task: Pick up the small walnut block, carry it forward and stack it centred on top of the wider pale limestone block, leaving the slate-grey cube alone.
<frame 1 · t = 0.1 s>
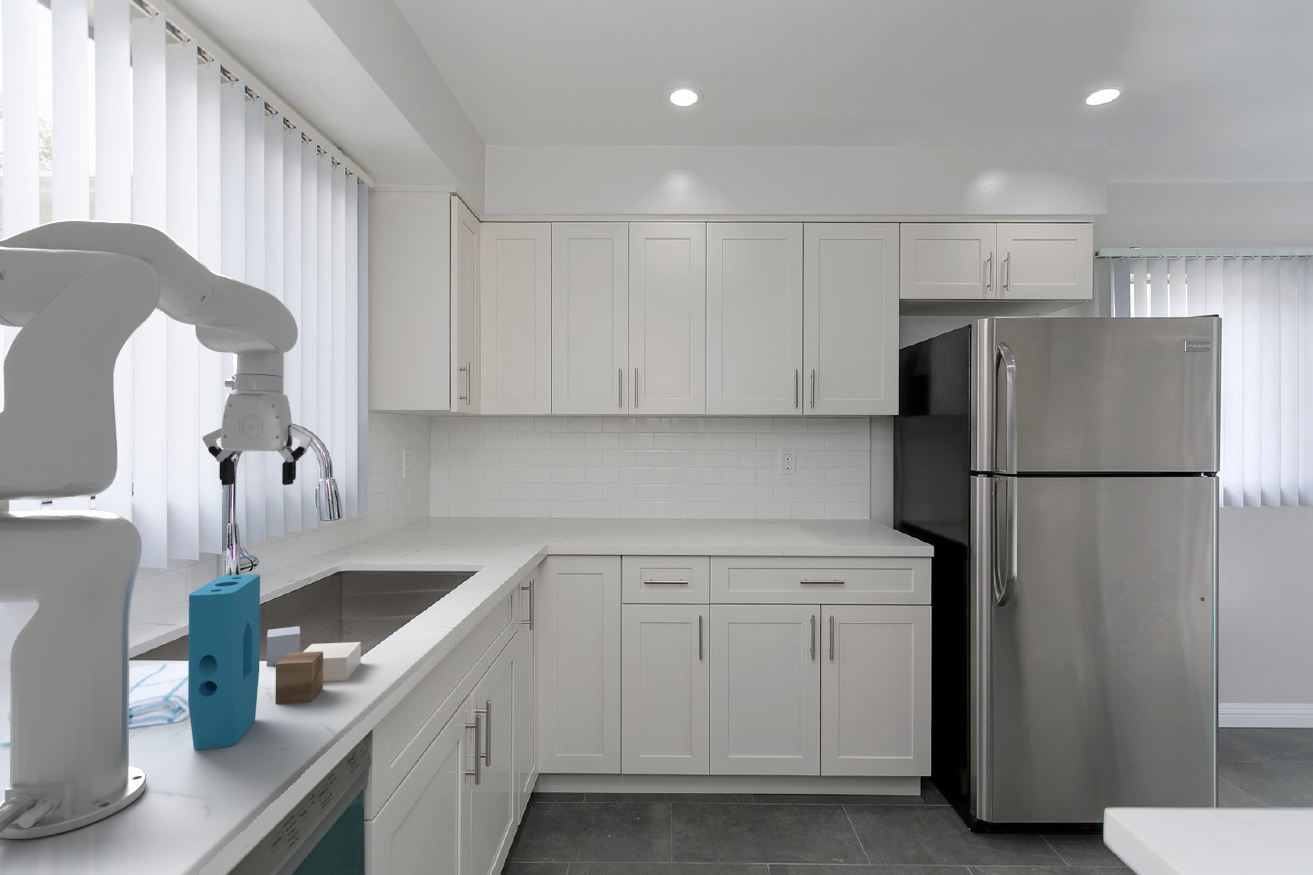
hand: (258, 484, 115), 31 cm above the worktop, fingers open, 9 cm apart
limestone block: (328, 674, 110), on the worktop
slate cube: (283, 659, 116), on the worktop
block: (225, 735, 87), on the worktop
walnut block: (299, 696, 100), on the worktop
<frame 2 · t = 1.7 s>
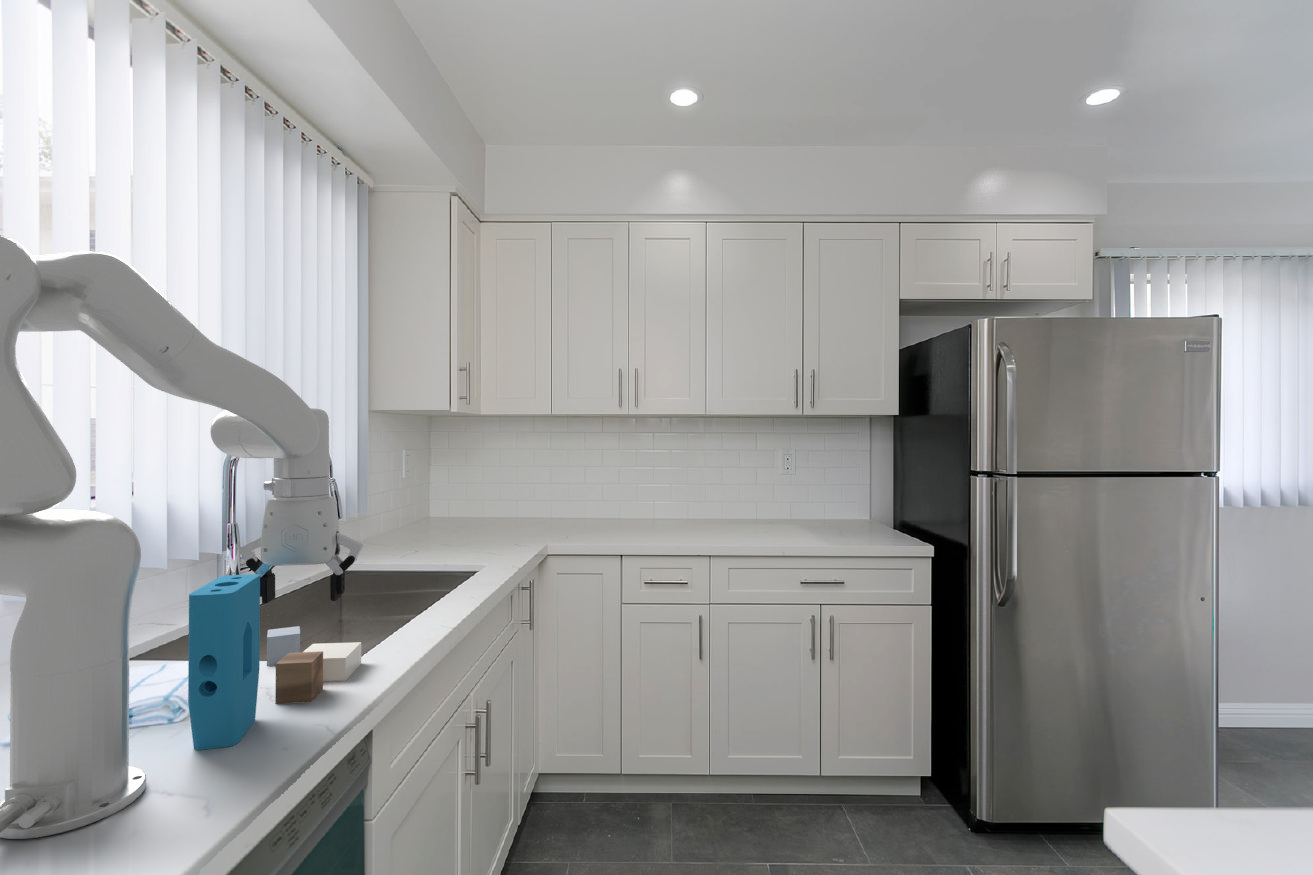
hand: (302, 600, 100), 15 cm above the worktop, fingers open, 9 cm apart
nothing on the worktop moved.
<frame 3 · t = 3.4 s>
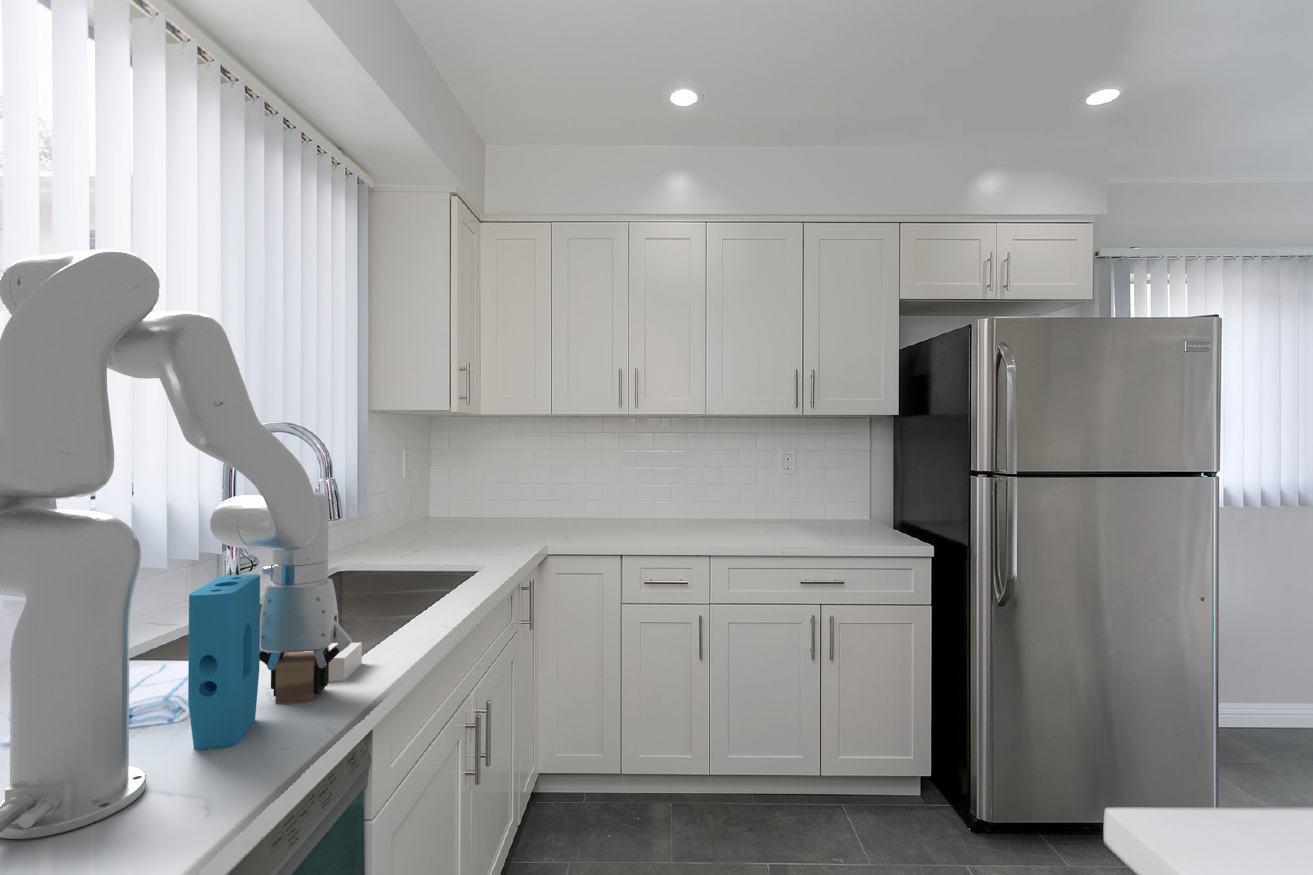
hand: (300, 690, 100), 1 cm above the worktop, fingers closed on walnut block, 5 cm apart
walnut block: (299, 696, 100), on the worktop, touching gripper
everything else where it was.
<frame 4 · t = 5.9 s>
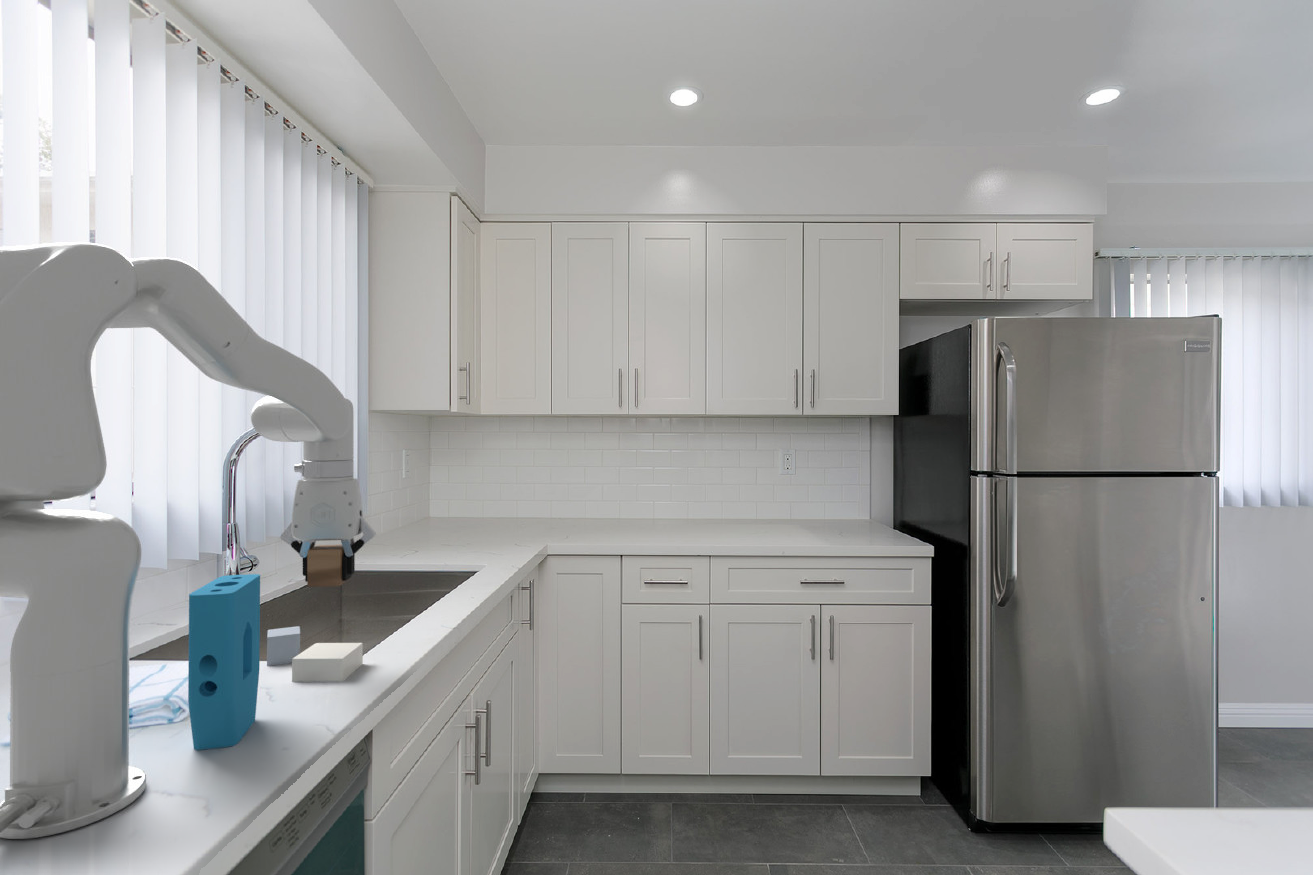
hand: (328, 578, 110), 16 cm above the worktop, fingers closed on walnut block, 5 cm apart
walnut block: (328, 582, 110), point 15 cm above the worktop, touching gripper
everything else where it was.
when the fingers open (6 cm above the worktop, at t = 8.6 s): walnut block drops 1 cm, point 4 cm above the worktop.
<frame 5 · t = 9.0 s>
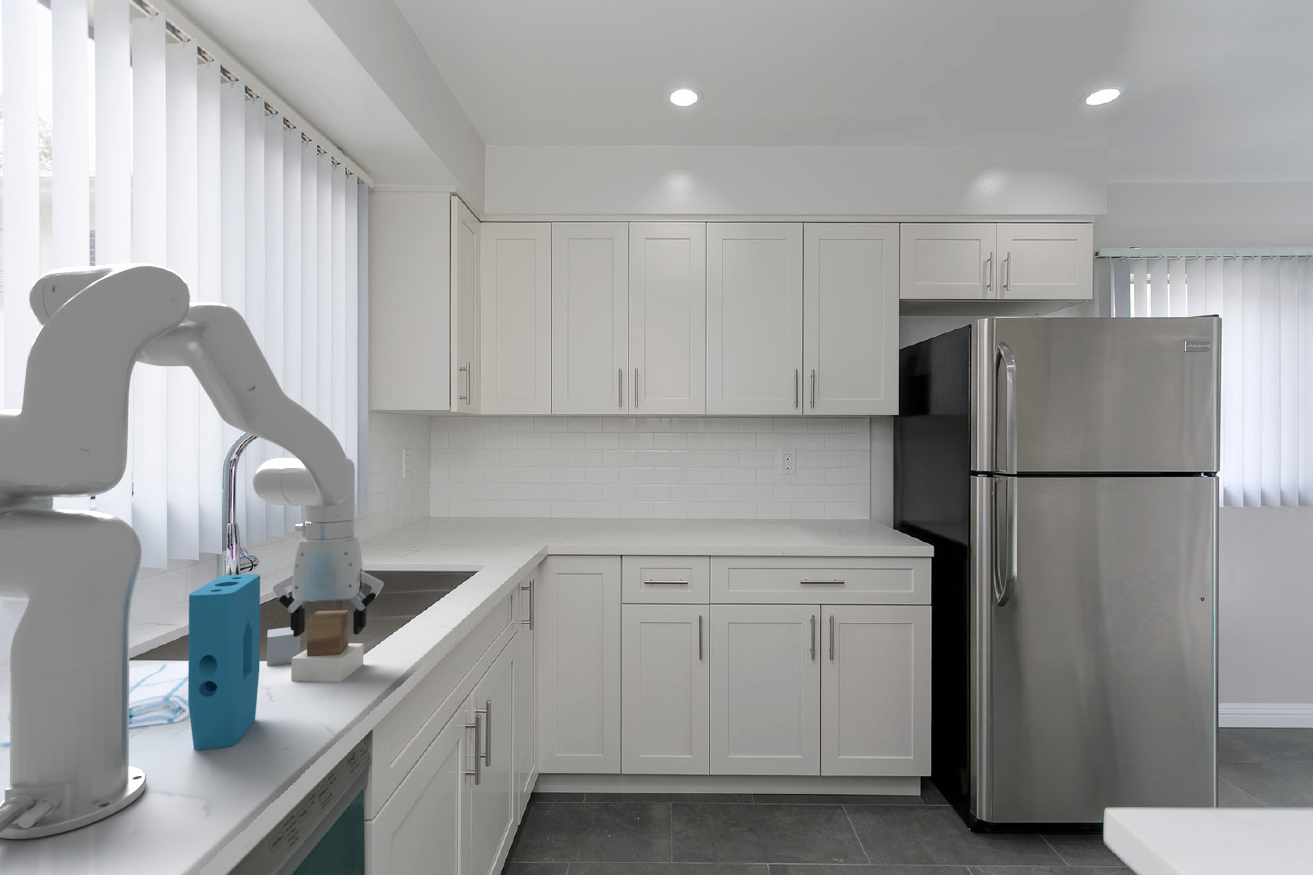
hand: (328, 633, 110), 7 cm above the worktop, fingers open, 9 cm apart
walnut block: (328, 650, 110), point 4 cm above the worktop
everything else where it was.
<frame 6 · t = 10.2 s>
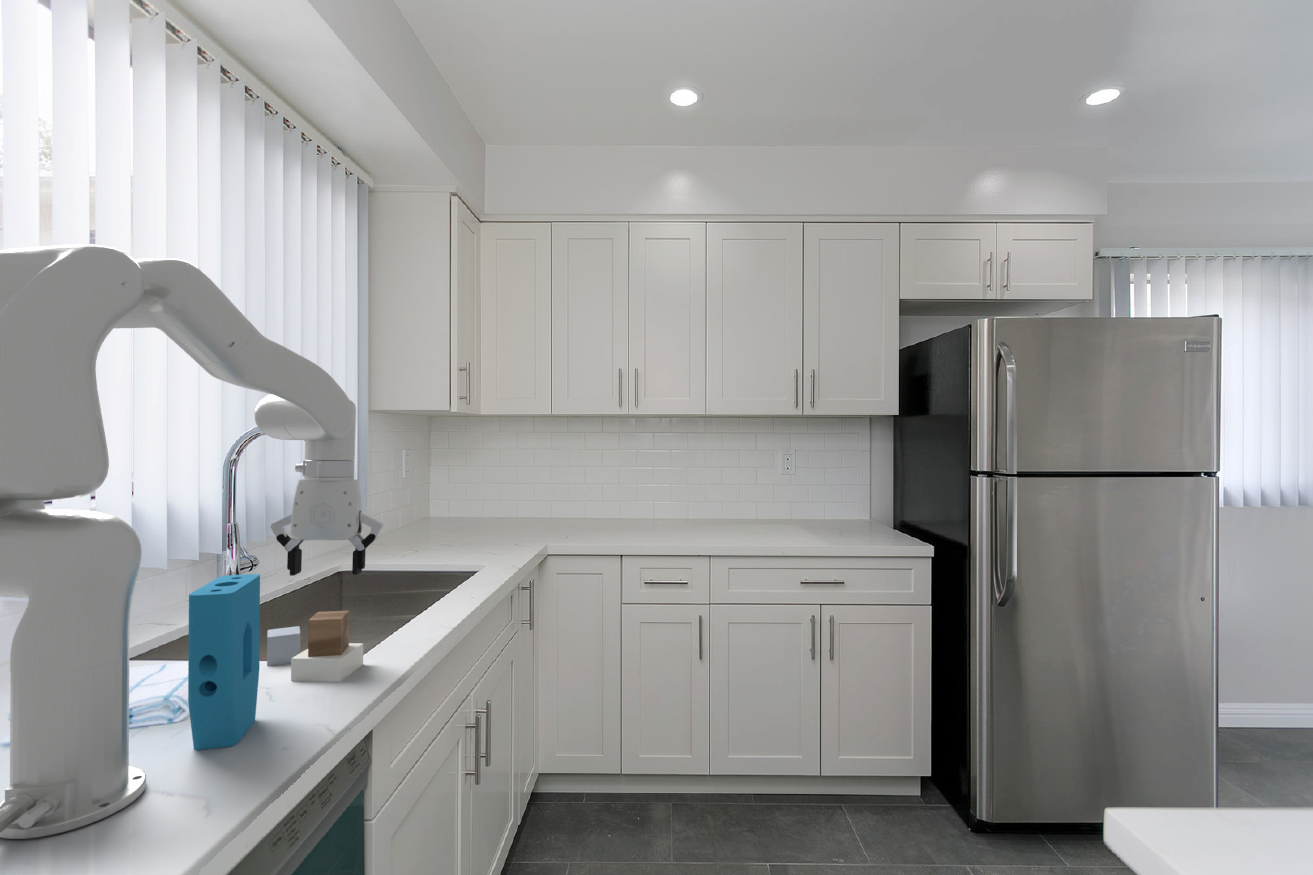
hand: (326, 573, 109), 17 cm above the worktop, fingers open, 9 cm apart
limestone block: (328, 674, 110), on the worktop, touching walnut block
walnut block: (329, 650, 110), point 4 cm above the worktop, touching limestone block
everything else where it was.
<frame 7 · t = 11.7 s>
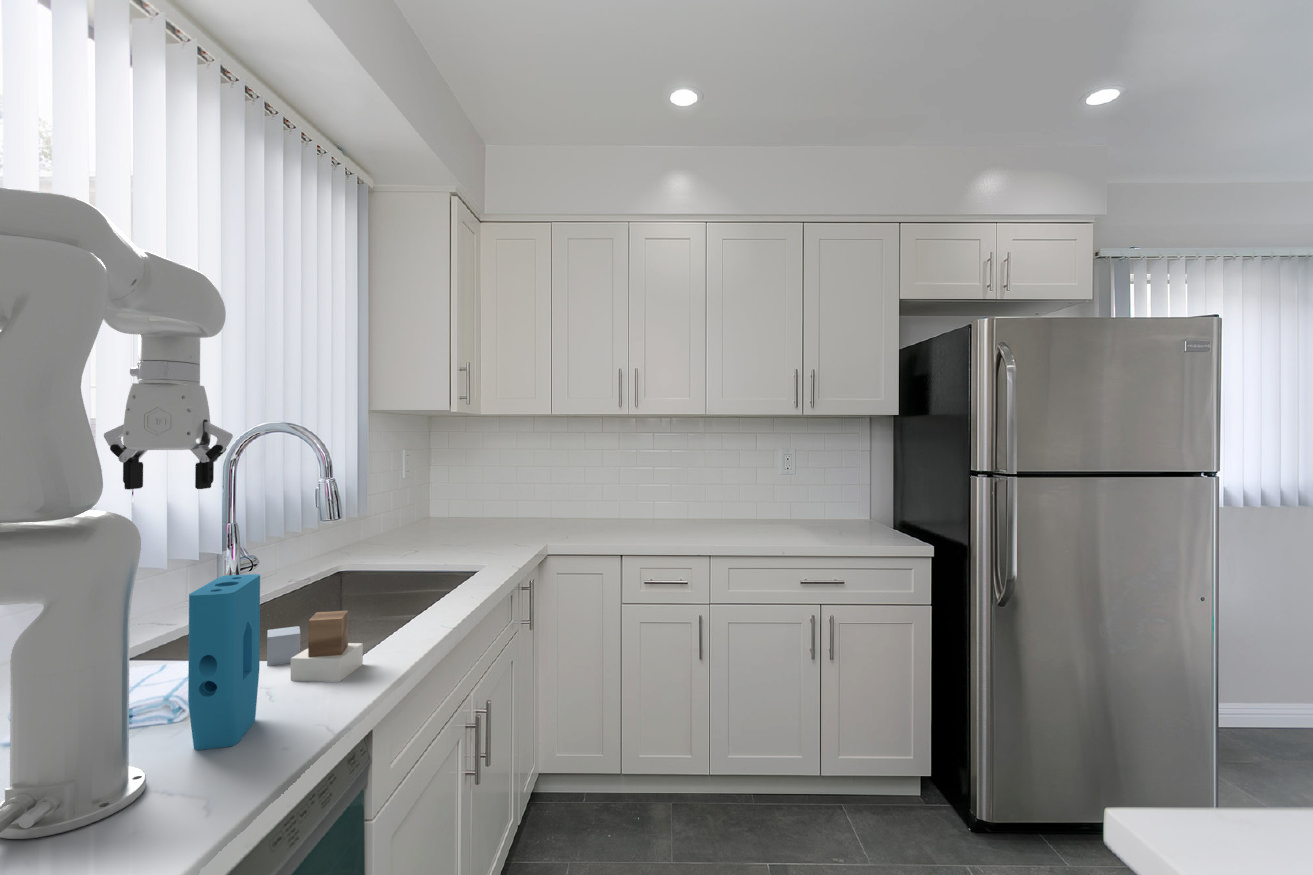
hand: (168, 488, 99), 32 cm above the worktop, fingers open, 9 cm apart
limestone block: (327, 674, 110), on the worktop
walnut block: (328, 651, 110), point 4 cm above the worktop
everything else where it was.
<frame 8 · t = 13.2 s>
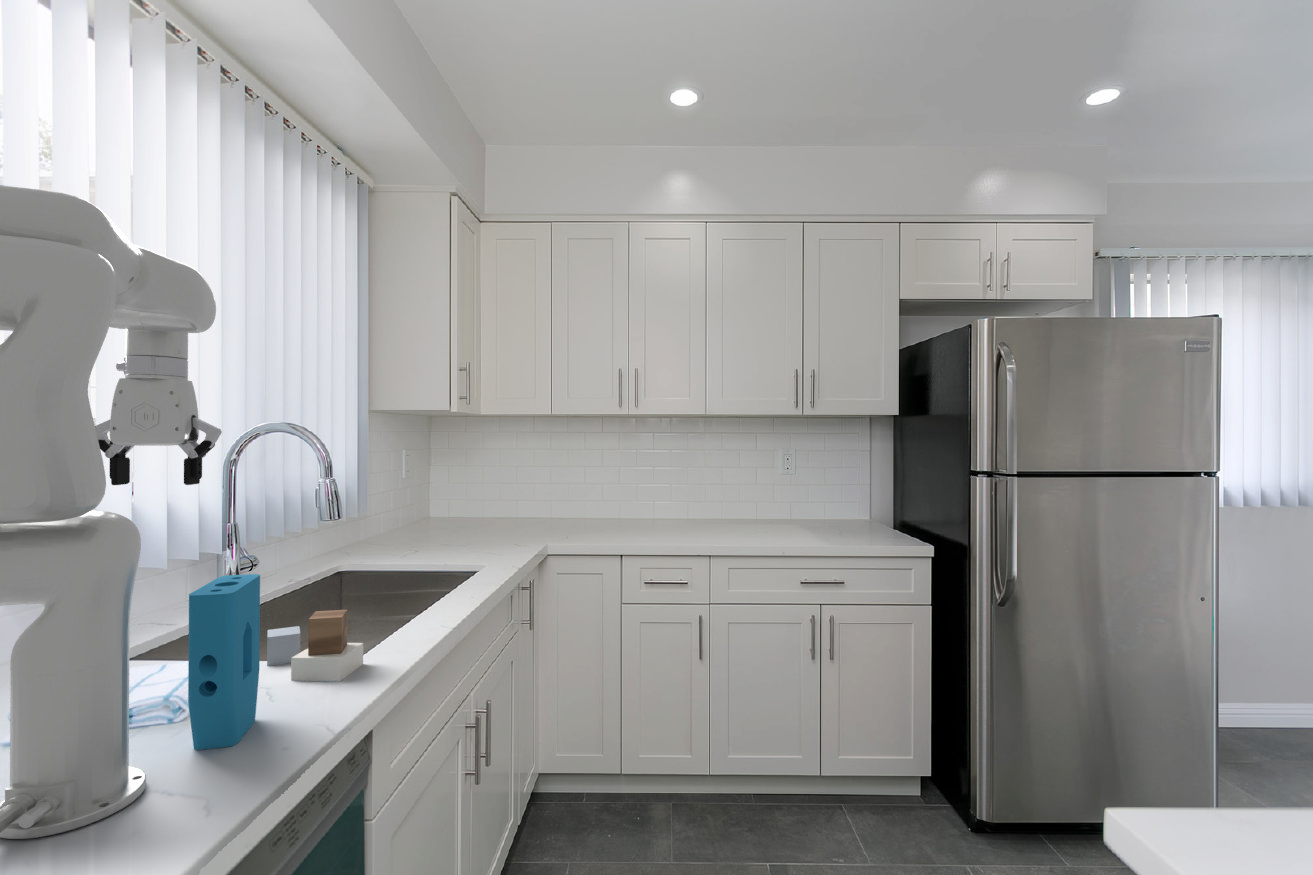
hand: (156, 484, 99), 32 cm above the worktop, fingers open, 9 cm apart
limestone block: (328, 673, 110), on the worktop, touching walnut block
walnut block: (328, 649, 110), point 4 cm above the worktop, touching limestone block
everything else where it was.
at the end: walnut block 0.1 cm off-centre on the limestone block, point 4.0 cm above the limestone block's base; walnut block tilted 0°; the gripper is holding nothing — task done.
